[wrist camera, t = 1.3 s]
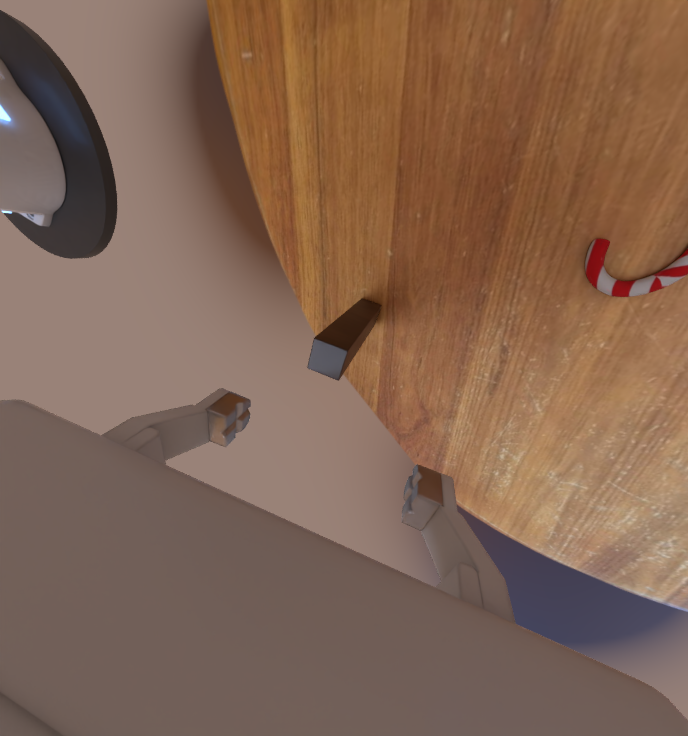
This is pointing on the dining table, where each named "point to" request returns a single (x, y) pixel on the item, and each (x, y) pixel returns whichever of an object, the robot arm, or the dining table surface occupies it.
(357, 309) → the stick
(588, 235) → the dining table surface
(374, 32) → the dining table surface
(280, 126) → the dining table surface
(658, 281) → the candy cane
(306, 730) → the robot arm
